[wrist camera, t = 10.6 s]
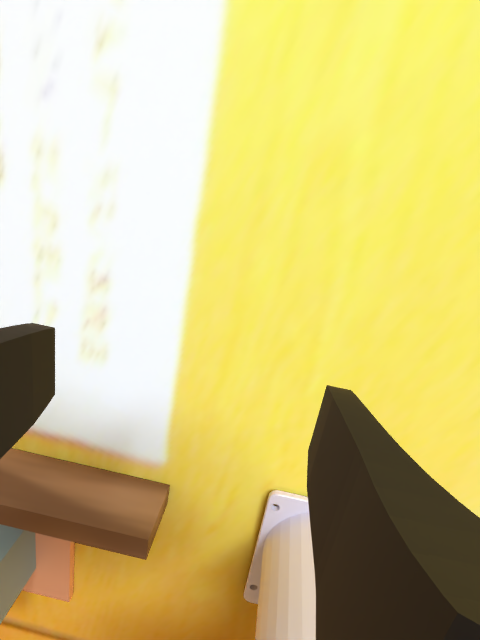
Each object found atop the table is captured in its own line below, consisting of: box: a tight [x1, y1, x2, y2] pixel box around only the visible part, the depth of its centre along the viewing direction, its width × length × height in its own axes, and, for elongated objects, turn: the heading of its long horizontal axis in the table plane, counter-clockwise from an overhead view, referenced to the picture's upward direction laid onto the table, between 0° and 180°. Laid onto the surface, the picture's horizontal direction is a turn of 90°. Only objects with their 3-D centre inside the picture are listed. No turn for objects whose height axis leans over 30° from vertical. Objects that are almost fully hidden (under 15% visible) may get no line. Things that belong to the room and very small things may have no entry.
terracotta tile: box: [22, 533, 75, 602], centre depth 29 cm, size 10×10×1 cm
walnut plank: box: [0, 448, 170, 560], centre depth 25 cm, size 2×18×4 cm, turn 81°
